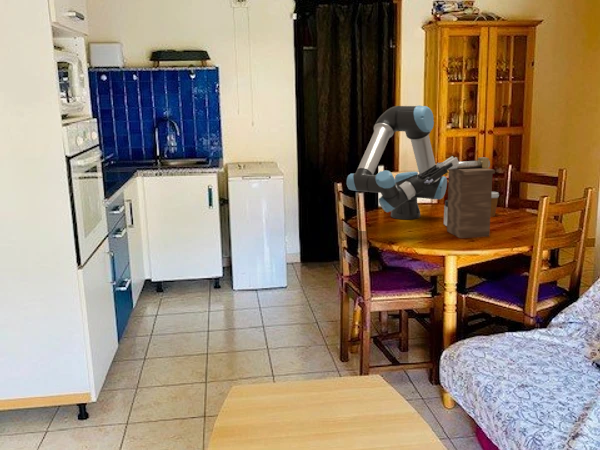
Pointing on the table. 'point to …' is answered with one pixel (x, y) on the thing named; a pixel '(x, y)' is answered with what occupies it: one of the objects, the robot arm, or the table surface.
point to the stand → (469, 202)
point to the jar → (445, 212)
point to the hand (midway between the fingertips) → (455, 159)
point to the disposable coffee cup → (494, 202)
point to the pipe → (469, 164)
